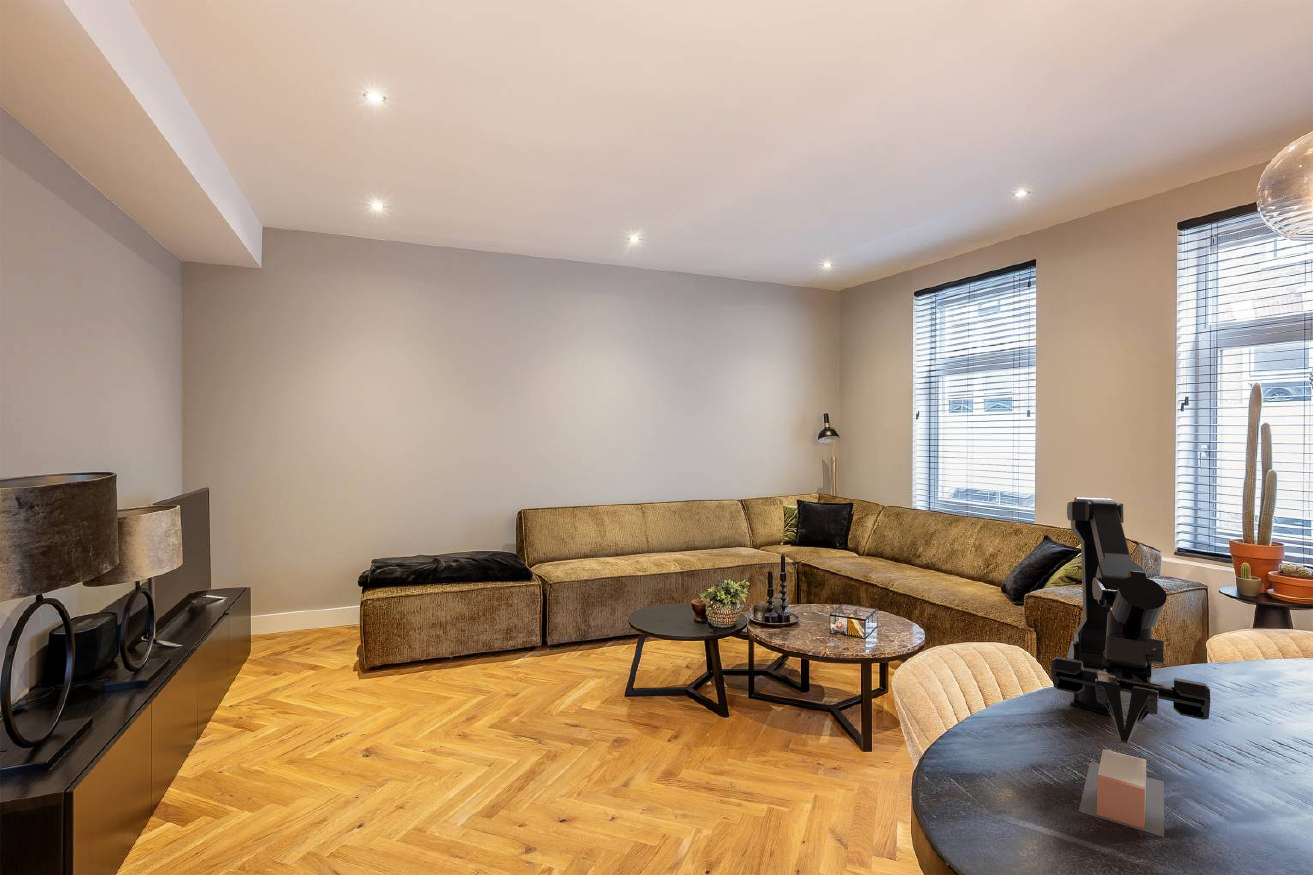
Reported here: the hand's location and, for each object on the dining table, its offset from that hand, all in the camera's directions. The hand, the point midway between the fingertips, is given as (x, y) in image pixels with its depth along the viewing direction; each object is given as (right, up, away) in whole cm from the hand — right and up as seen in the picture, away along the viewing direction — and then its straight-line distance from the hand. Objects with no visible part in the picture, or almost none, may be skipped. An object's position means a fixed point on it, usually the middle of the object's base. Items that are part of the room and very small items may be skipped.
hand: (1124, 741), depth 92 cm
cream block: (+1, -5, +1) cm, 5 cm away
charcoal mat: (-1, -8, -1) cm, 8 cm away
